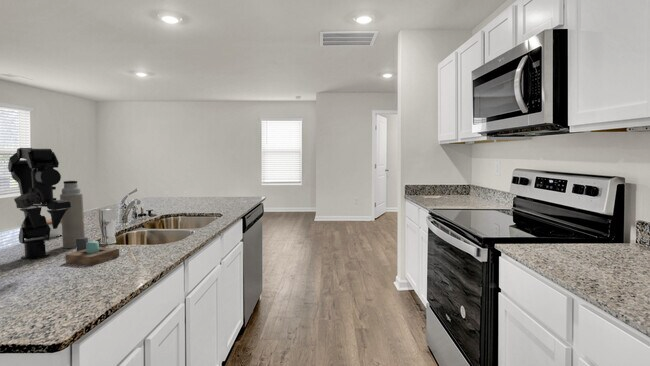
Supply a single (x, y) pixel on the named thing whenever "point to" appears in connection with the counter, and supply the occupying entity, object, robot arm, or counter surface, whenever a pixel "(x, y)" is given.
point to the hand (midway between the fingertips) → (45, 228)
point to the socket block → (92, 256)
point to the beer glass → (107, 225)
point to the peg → (92, 247)
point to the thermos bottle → (72, 215)
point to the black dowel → (81, 243)
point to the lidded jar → (54, 231)
